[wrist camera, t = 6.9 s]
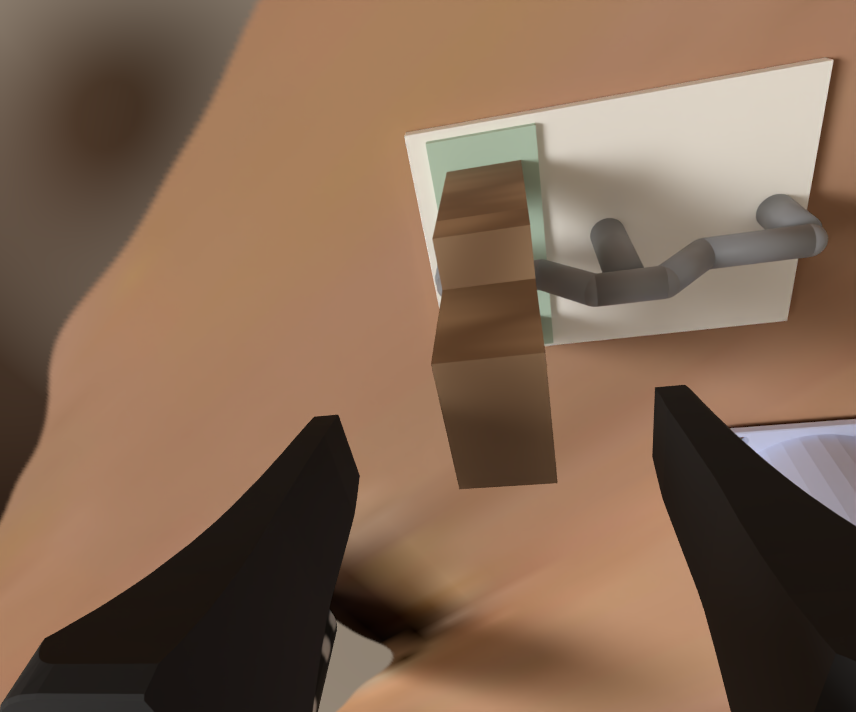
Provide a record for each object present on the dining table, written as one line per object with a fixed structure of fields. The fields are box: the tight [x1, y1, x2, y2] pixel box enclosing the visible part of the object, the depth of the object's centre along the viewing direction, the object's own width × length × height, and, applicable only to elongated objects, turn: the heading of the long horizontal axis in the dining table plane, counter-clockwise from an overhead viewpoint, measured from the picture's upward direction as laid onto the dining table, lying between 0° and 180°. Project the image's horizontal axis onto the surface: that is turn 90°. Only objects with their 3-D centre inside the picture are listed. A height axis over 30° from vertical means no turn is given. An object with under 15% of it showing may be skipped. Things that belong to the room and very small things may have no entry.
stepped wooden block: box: [431, 160, 557, 489], centre depth 17 cm, size 2×7×9 cm, turn 11°
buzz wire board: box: [404, 57, 833, 346], centre depth 19 cm, size 13×9×5 cm
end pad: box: [426, 123, 553, 344], centre depth 21 cm, size 4×8×1 cm, turn 11°
